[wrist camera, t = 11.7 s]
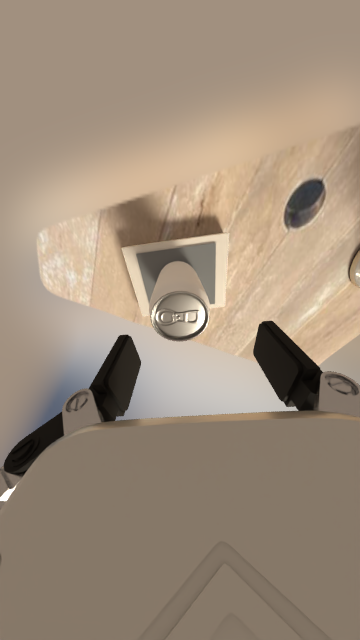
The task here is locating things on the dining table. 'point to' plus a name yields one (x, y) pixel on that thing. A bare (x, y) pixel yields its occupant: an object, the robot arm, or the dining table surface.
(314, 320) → the dining table surface
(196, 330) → the can
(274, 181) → the dining table surface
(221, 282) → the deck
